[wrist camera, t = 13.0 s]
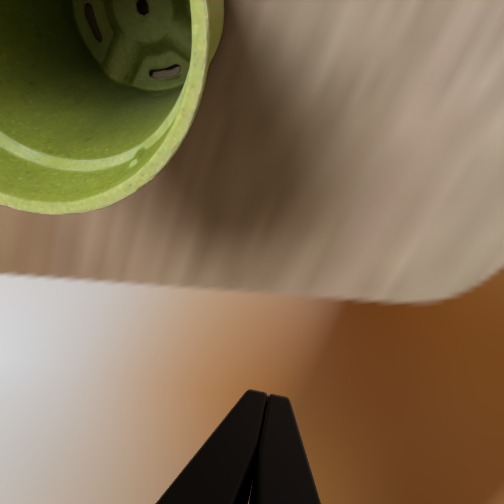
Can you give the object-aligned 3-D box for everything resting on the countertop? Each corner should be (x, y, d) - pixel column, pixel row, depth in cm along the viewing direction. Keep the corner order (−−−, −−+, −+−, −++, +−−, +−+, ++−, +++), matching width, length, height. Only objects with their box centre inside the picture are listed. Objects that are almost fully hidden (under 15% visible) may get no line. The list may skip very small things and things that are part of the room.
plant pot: (295, 104, 17) (258, 180, 10) (95, 152, 20) (-51, 240, 13) (230, -206, 13) (84, -476, 6) (-11, -94, 16) (-323, -179, 8)
